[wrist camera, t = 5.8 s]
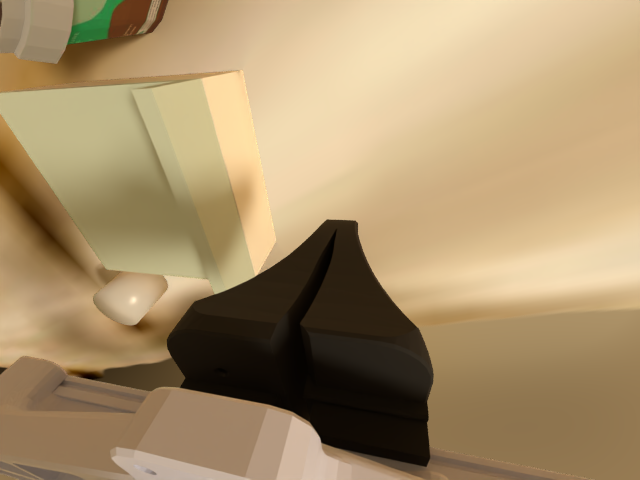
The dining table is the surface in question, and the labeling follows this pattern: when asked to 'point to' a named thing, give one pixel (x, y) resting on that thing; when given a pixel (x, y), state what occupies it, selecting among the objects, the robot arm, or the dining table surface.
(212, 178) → the lid
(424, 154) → the dining table surface
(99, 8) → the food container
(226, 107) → the box
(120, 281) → the cream rounded piece
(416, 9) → the dining table surface
